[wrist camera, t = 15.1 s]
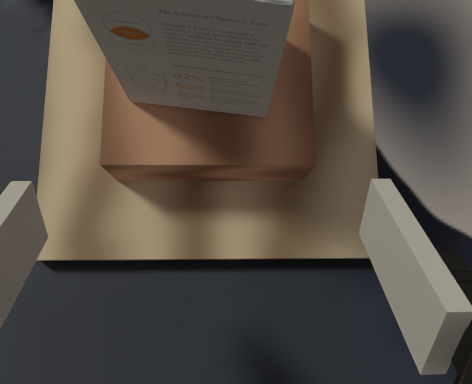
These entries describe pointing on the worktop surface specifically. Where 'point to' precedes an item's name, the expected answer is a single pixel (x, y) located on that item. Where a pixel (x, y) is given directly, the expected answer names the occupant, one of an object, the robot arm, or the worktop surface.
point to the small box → (193, 50)
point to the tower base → (207, 205)
